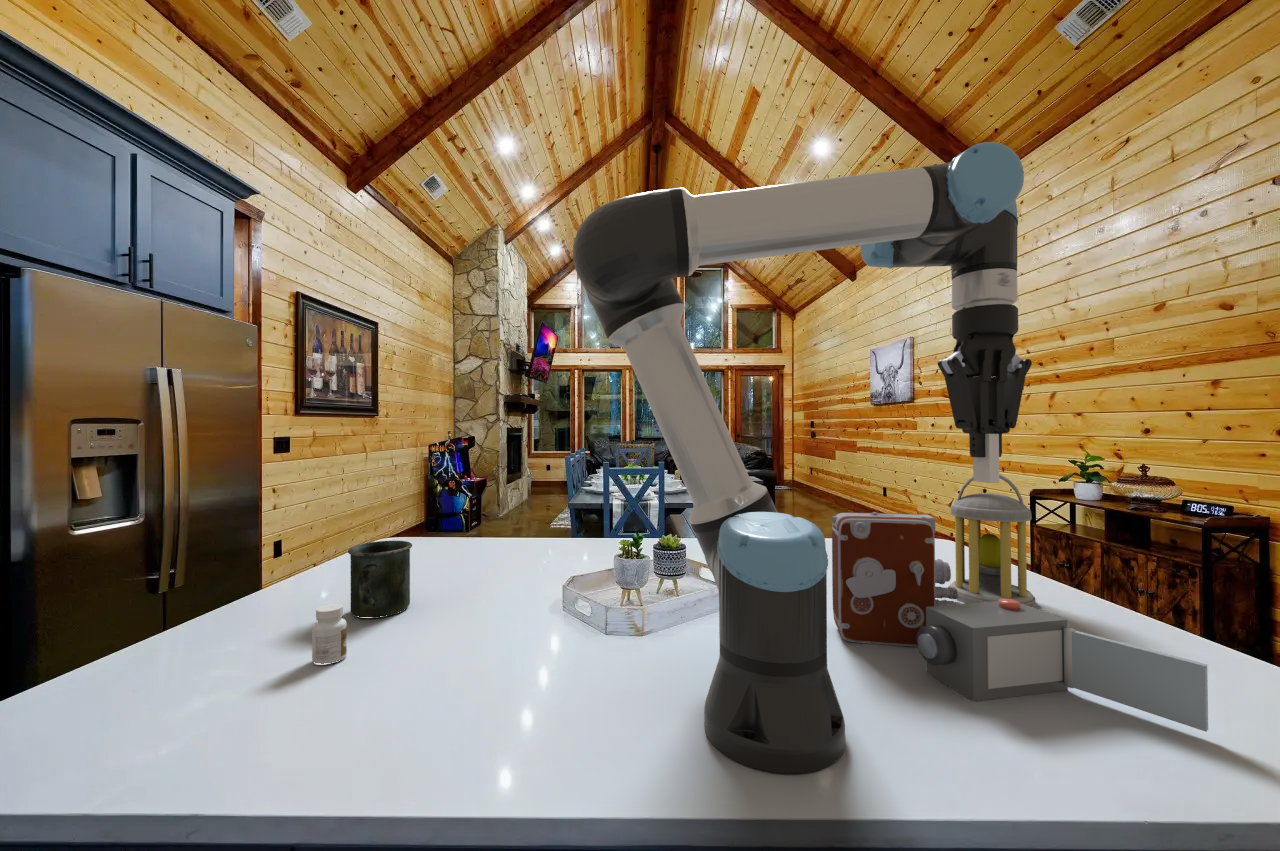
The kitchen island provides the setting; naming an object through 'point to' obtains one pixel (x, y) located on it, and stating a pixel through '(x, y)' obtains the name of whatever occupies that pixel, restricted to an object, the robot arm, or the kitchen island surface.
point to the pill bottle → (329, 634)
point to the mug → (380, 578)
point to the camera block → (994, 649)
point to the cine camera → (885, 576)
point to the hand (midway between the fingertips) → (986, 481)
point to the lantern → (990, 547)
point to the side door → (1137, 677)
